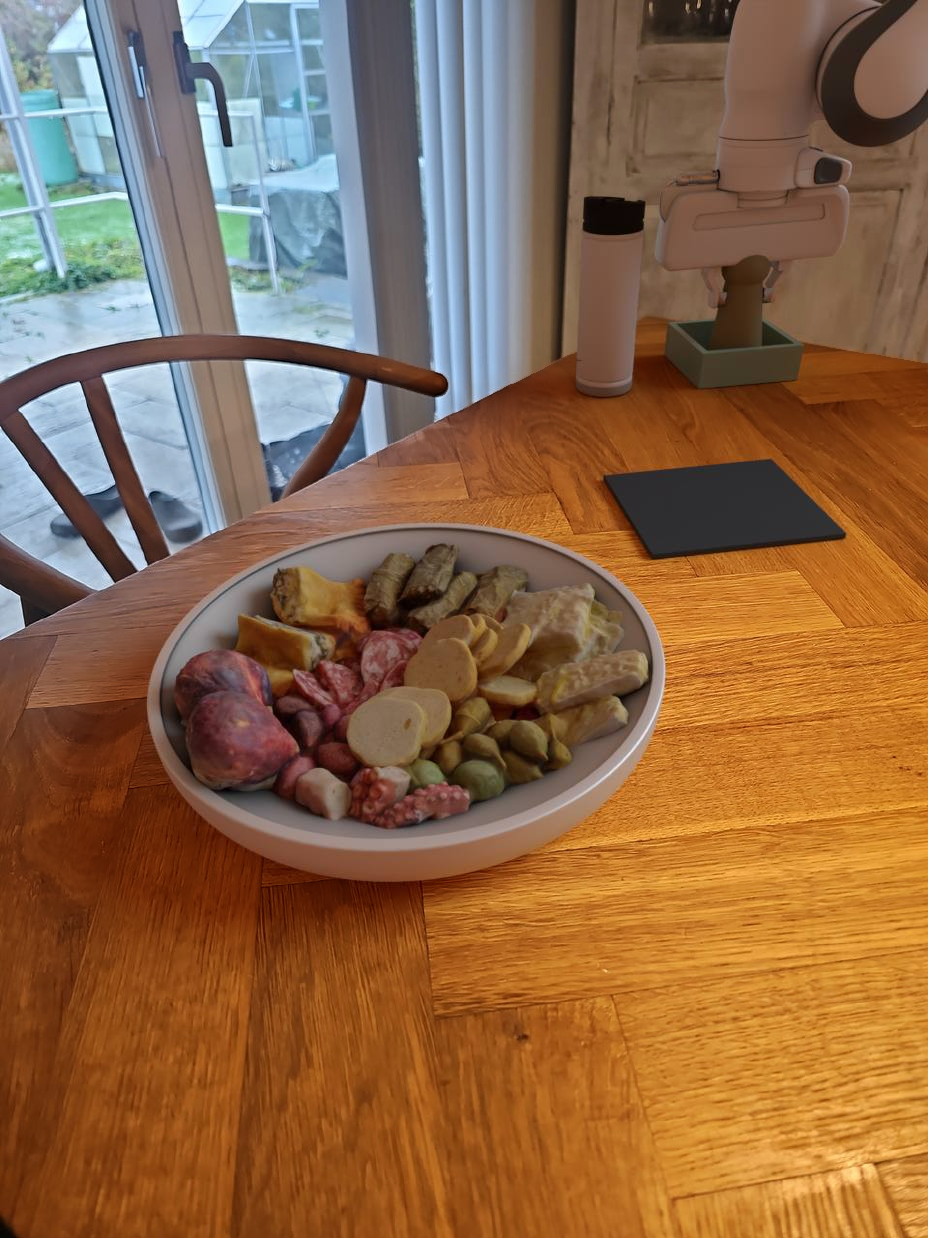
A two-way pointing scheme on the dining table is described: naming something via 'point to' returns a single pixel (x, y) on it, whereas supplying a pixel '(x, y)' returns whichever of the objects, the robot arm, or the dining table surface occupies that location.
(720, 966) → the dining table surface
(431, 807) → the bowl
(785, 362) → the box
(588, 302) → the travel mug
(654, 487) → the mat
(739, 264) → the brown tapered knobbed piece
